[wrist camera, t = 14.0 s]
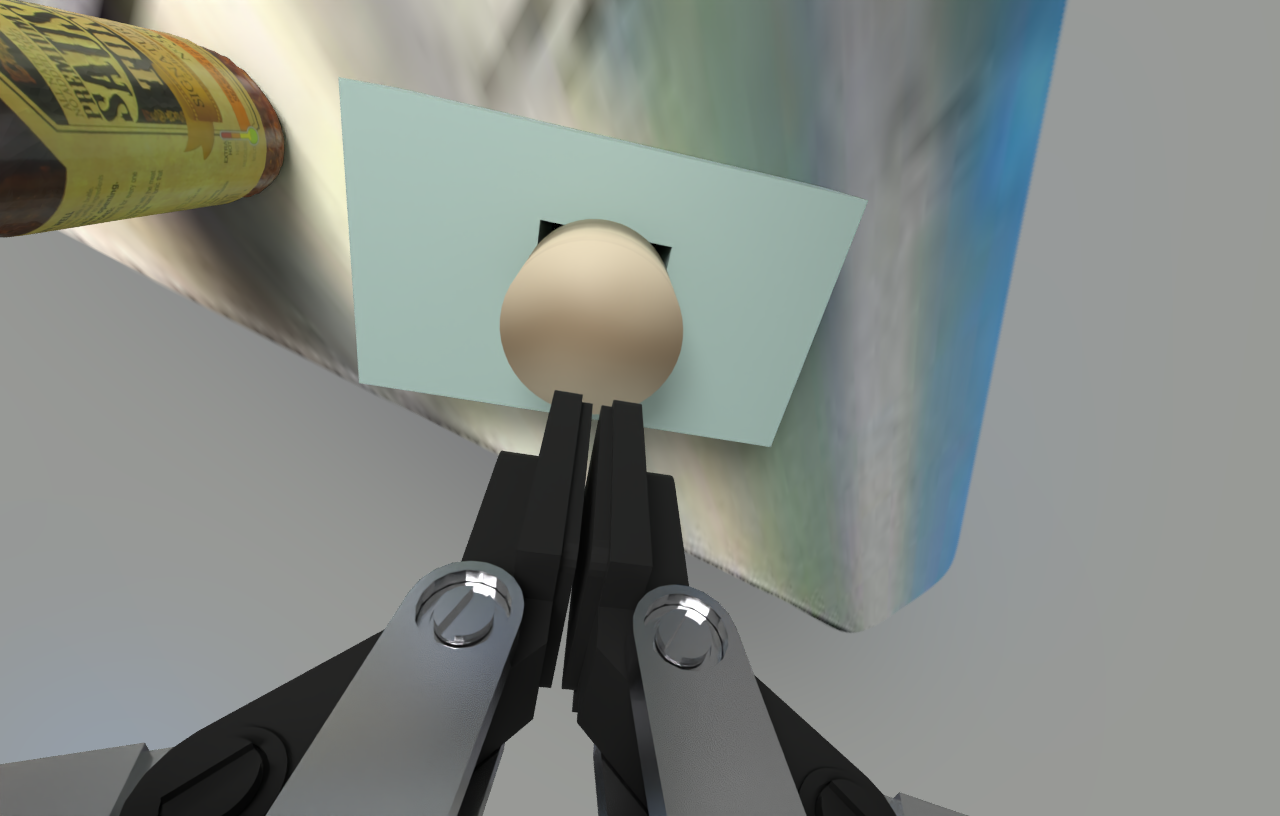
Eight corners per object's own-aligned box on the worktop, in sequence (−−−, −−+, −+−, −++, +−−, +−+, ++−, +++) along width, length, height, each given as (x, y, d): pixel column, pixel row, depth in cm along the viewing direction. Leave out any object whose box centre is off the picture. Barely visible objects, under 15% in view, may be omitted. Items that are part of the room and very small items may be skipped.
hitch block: (398, 88, 22) (338, 77, 17) (819, 186, 25) (868, 200, 20) (403, 338, 28) (359, 382, 23) (746, 396, 31) (770, 447, 26)
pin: (544, 189, 24) (507, 222, 16) (674, 217, 25) (703, 262, 17) (531, 316, 27) (493, 399, 19) (647, 337, 28) (660, 426, 20)
